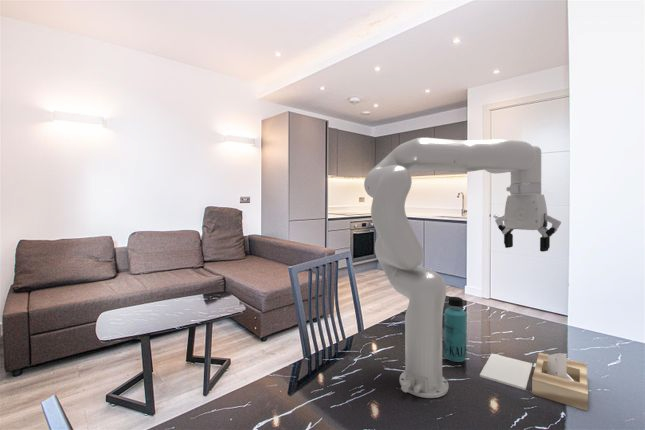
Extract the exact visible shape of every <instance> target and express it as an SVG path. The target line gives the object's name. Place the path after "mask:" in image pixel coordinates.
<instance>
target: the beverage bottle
mask: <svg viewBox="0 0 645 430" xmlns="http://www.w3.org/2000/svg"><path fill="white" fill-rule="evenodd" d="M447 304H448V305H449V307H447V308H445V310H444V323H443V325H444V327H443V328H444V329H443V335H444V336H443V339H444V341H443V356H444V357H445V359H447V360H448V361H451V362H458V363H459V362H460V363H461V362H464V361H465V360H466V358H467V312H466V311H465V310H464V309H463V308H461V307H463V306H464V301H463V298H462V297H459V296H449V297H448V301H447Z"/></svg>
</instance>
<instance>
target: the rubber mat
mask: <svg viewBox="0 0 645 430" xmlns="http://www.w3.org/2000/svg"><path fill="white" fill-rule="evenodd" d="M532 369H533V363H532V362H529V361H528V362H527V361H524V360H520V359H517V358H512V357H508V356H504V355H501V354H495V353H490V356H489V357H488V359H487V360H486V362H485V365H484V366H483V368H482V370H481V372H480V373H479V377H480V378H483V379H485V380H489V381H493V382H497V383H498V384H499V383H500V384H502V385H503V384H504V385H507V386H510V387H513V388H516V389H519V390H523V391H526V390H527V386H528V383H529V380H530V376H531V372H532Z"/></svg>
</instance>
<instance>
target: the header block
mask: <svg viewBox="0 0 645 430" xmlns="http://www.w3.org/2000/svg"><path fill="white" fill-rule="evenodd" d="M548 355H549V354H547V353H542V352H538V355H537V359H536V362H535V363H536V364H535V367H534V371H533V374H532V381H531V395H534V396H537V397H540V398H544V399H547V400H550V401H554V402H557V403H560V404H564V405H567V406H571V407H573V408H577V409H580V410H584V411H587V412H588V411H589V386H588V385H589V384H588V367H587V366H588V364H587V363H586V362H581V361H578V360H574V359H573V360H572V359H569V358H567V370H566V373H567V374H568V375H569V376H570V377H571V378H572V379H573V380H574V381H572V380H568V379H564V378H561V377H557V376H553V375H549V374H548Z"/></svg>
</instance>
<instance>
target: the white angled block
mask: <svg viewBox="0 0 645 430" xmlns="http://www.w3.org/2000/svg"><path fill="white" fill-rule="evenodd" d="M567 357H568V354H567V353H564V352H563V353H560V352H558V353H554V354H553V353H552V354H548V374H549V375H553V376H557V377H561V378H564V379H568V380H572V381H574V380H573V379H572V378H571V377H570V376H569V375H568V374H567V373H566V370H567V359H568V358H567Z"/></svg>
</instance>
